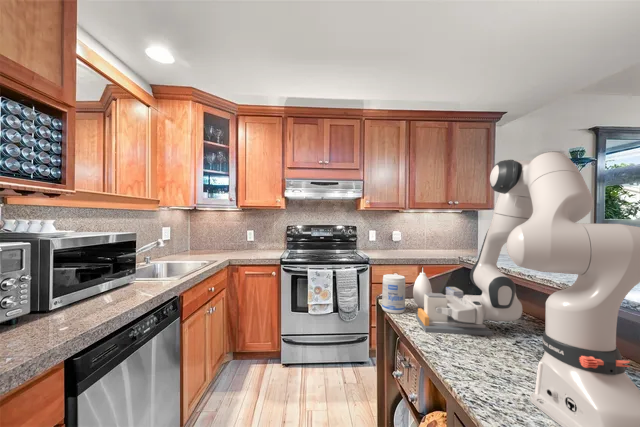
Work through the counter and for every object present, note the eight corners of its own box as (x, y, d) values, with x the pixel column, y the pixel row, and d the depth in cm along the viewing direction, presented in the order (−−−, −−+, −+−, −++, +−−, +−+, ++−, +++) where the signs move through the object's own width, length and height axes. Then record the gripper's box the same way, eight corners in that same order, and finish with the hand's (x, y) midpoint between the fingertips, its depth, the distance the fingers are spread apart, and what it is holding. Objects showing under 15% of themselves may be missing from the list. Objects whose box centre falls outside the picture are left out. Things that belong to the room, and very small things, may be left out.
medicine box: (463, 311, 120) (464, 291, 121) (453, 311, 121) (453, 291, 121) (455, 305, 128) (455, 286, 128) (445, 305, 128) (445, 286, 129)
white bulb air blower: (435, 309, 122) (436, 268, 123) (420, 311, 120) (420, 269, 120) (424, 304, 130) (424, 265, 130) (409, 305, 127) (409, 265, 128)
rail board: (492, 335, 95) (492, 322, 95) (425, 332, 98) (425, 319, 98) (474, 320, 109) (474, 309, 109) (416, 317, 112) (416, 306, 112)
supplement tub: (388, 315, 115) (389, 279, 115) (378, 307, 124) (378, 274, 124) (409, 313, 117) (410, 277, 117) (397, 306, 126) (397, 273, 127)
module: (447, 323, 102) (447, 296, 102) (427, 322, 102) (427, 295, 102) (443, 318, 106) (443, 293, 106) (423, 317, 107) (424, 292, 107)
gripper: (459, 291, 113) (424, 290, 115) (484, 307, 93) (440, 305, 94) (459, 307, 113) (424, 305, 115) (484, 326, 93) (440, 324, 94)
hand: (432, 305), depth 104 cm, fingers open, 8 cm apart
